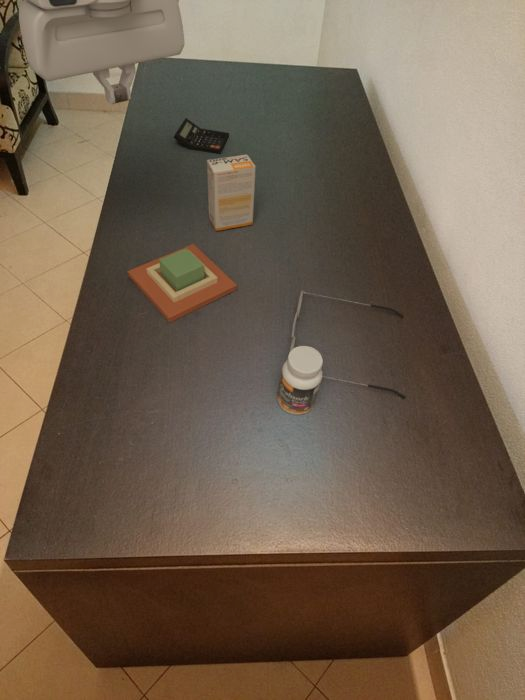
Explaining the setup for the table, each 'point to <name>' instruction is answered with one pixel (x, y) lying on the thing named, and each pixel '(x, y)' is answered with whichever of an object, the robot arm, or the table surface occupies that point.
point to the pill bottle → (300, 380)
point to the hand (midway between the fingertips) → (119, 100)
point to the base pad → (184, 299)
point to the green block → (181, 269)
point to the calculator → (201, 138)
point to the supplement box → (231, 191)
